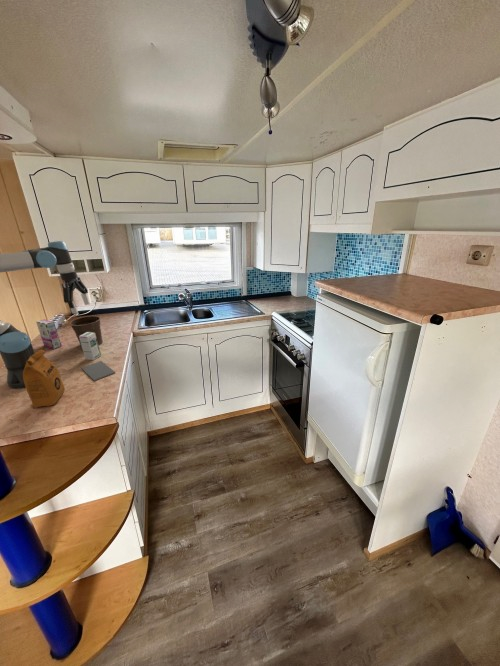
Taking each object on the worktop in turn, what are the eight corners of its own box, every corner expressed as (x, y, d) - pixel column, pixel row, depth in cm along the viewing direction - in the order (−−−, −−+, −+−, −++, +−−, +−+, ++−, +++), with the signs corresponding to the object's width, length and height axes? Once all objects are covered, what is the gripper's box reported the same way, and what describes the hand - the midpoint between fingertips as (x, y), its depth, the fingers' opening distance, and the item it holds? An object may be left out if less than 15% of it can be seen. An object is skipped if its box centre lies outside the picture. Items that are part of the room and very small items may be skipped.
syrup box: (94, 360, 149) (87, 336, 143) (85, 359, 150) (78, 335, 144) (101, 355, 154) (95, 332, 148) (92, 354, 155) (86, 331, 149)
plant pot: (90, 351, 159) (83, 326, 153) (70, 348, 164) (63, 323, 158) (111, 340, 173) (106, 317, 167) (92, 337, 178) (86, 314, 172)
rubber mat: (94, 381, 129) (94, 380, 129) (81, 368, 140) (81, 367, 140) (115, 372, 136) (115, 371, 135) (101, 361, 147) (101, 360, 147)
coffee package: (70, 390, 122) (55, 346, 114) (55, 407, 111) (38, 360, 103) (46, 392, 121) (30, 348, 113) (29, 409, 110) (10, 362, 101)
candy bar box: (62, 346, 167) (54, 321, 160) (53, 349, 163) (45, 324, 156) (52, 343, 171) (44, 318, 165) (43, 346, 167) (35, 321, 161)
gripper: (60, 277, 132) (76, 316, 141) (86, 265, 154) (98, 300, 164) (45, 278, 132) (62, 317, 141) (73, 267, 154) (85, 301, 164)
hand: (81, 308), depth 153 cm, fingers open, 13 cm apart
